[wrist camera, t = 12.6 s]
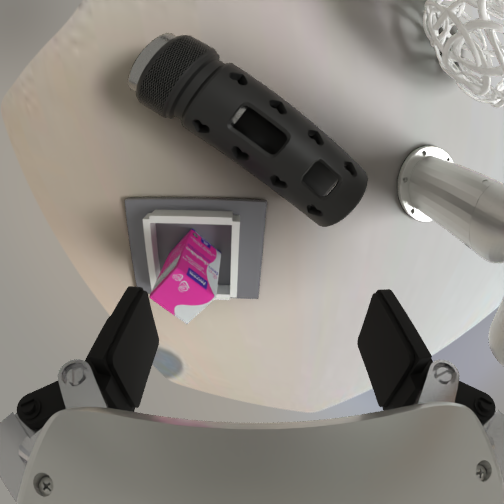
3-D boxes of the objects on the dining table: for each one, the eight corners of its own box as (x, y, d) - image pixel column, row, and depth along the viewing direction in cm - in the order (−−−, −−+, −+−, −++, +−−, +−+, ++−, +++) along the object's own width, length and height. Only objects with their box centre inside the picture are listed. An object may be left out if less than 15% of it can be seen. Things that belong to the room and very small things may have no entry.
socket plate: (266, 200, 38) (268, 208, 35) (257, 295, 45) (259, 308, 42) (127, 197, 37) (117, 205, 34) (139, 289, 44) (133, 301, 41)
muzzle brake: (306, 210, 39) (326, 242, 30) (143, 97, 30) (110, 92, 21) (349, 161, 36) (382, 178, 27) (185, 40, 27) (165, 16, 18)
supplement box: (223, 251, 40) (218, 299, 30) (197, 276, 42) (186, 327, 32) (192, 225, 38) (176, 268, 28) (168, 252, 40) (146, 299, 30)
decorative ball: (479, 25, 22) (551, 20, 5) (483, 116, 31) (564, 138, 14) (394, -21, 21) (465, -60, 4) (400, 82, 30) (496, 78, 13)
